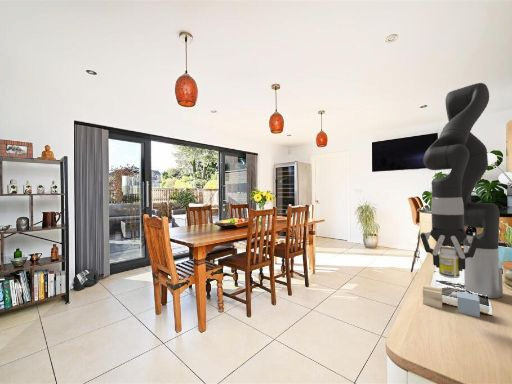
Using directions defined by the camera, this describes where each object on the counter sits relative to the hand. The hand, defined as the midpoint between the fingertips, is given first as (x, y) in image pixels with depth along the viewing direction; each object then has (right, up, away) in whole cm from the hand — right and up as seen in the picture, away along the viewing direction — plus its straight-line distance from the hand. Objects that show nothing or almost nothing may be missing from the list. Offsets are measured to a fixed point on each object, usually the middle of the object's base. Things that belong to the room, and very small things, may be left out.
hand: (448, 268), depth 70 cm
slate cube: (+9, -15, +3) cm, 18 cm away
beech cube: (+2, -15, +9) cm, 18 cm away
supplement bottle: (0, -2, 0) cm, 2 cm away
